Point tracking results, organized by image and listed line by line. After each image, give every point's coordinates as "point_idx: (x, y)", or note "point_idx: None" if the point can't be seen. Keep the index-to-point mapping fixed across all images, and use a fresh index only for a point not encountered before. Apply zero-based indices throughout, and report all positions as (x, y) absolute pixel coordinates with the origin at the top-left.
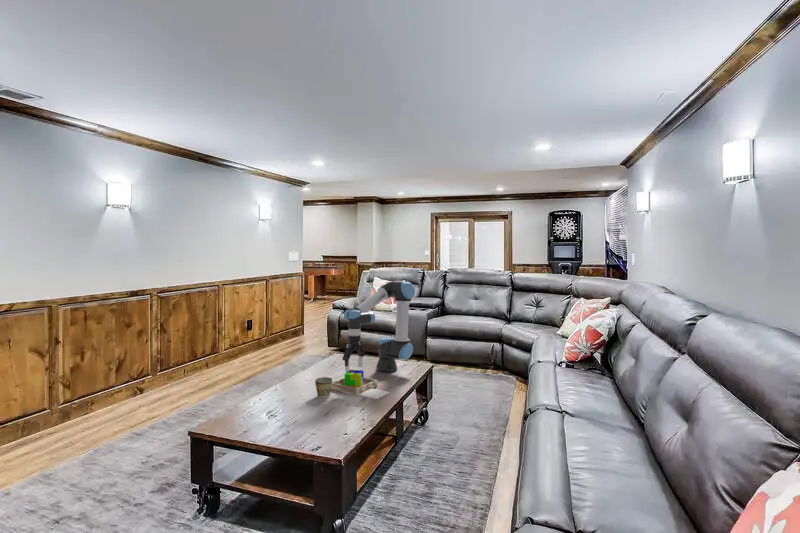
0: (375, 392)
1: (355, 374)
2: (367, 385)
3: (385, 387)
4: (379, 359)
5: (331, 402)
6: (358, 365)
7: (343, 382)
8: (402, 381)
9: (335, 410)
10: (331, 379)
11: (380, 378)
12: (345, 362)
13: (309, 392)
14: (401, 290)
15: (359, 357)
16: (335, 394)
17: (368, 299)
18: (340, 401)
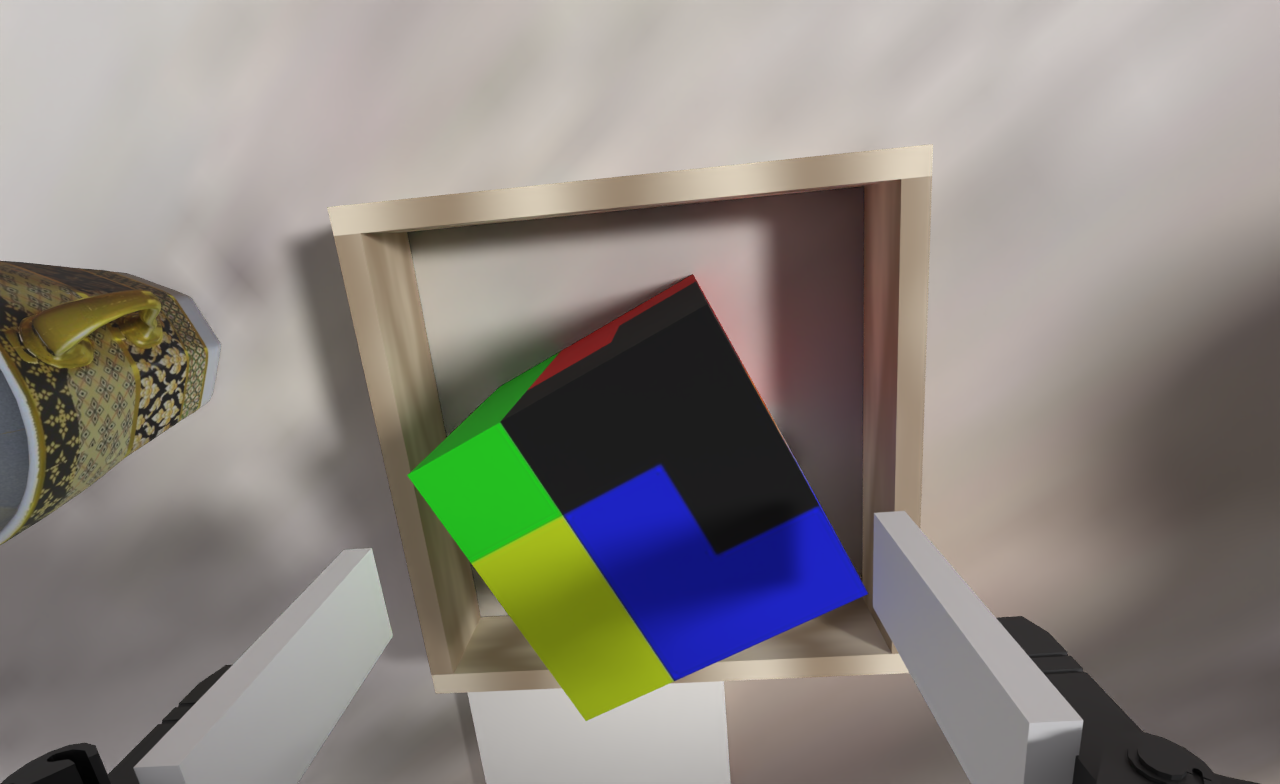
0: (626, 763)
1: (537, 646)
2: None
3: (897, 706)
4: None
5: (114, 558)
6: (882, 533)
7: (661, 205)
8: (1234, 736)
9: (30, 721)
10: (37, 484)
11: (1245, 442)
12: (132, 780)
13: (82, 54)
14: None
15: (998, 739)
16: (305, 412)
17: None
18: (206, 609)
